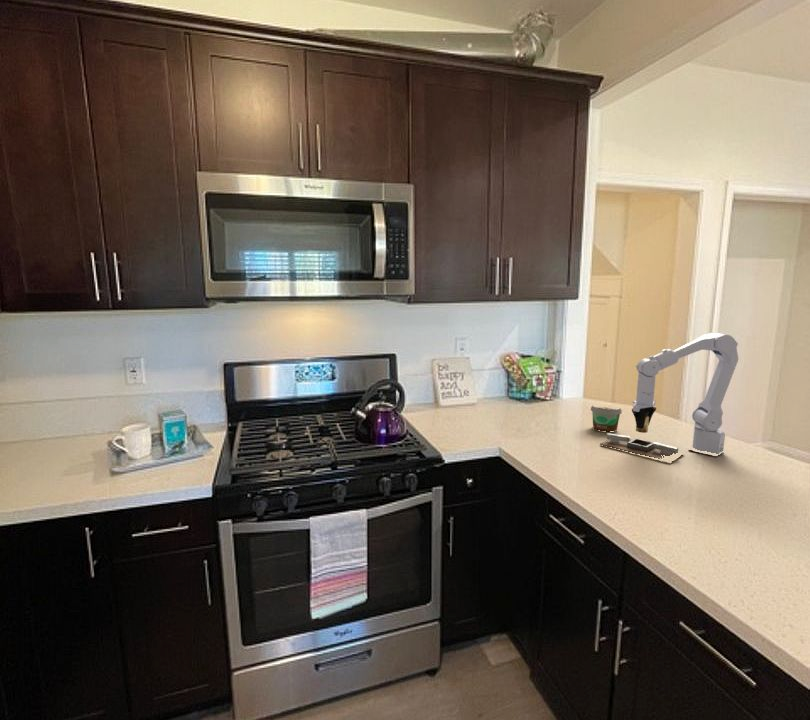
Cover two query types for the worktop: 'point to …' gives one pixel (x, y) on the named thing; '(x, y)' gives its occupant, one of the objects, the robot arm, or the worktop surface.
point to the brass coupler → (645, 428)
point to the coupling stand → (639, 446)
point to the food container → (605, 418)
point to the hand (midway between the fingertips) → (642, 426)
